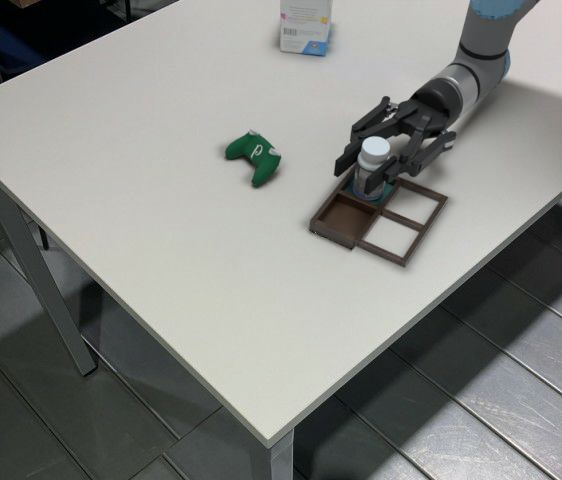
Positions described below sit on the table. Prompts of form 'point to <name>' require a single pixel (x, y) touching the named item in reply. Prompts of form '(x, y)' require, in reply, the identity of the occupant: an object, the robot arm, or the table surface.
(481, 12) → the robot arm
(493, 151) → the table surface
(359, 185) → the pill bottle
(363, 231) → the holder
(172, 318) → the table surface
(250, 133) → the gaming controller
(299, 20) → the ink box
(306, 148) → the table surface
